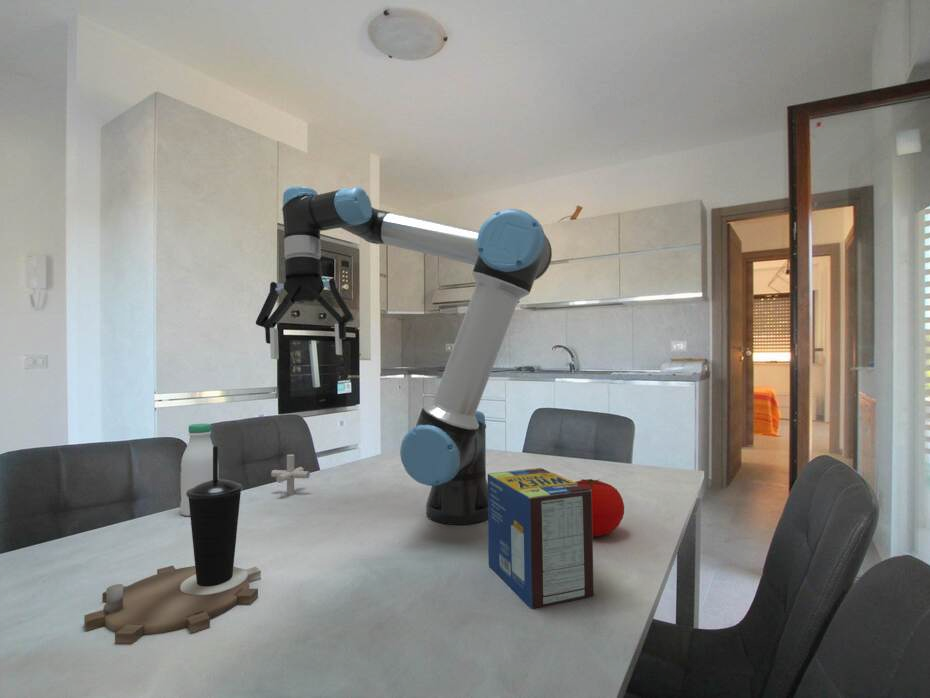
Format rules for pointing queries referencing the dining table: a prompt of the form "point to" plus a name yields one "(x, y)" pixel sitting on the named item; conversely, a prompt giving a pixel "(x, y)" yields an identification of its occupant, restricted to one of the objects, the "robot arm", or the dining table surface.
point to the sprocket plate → (169, 603)
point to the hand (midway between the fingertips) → (307, 356)
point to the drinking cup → (214, 527)
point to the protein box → (541, 535)
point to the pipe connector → (290, 474)
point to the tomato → (604, 506)
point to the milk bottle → (196, 463)
